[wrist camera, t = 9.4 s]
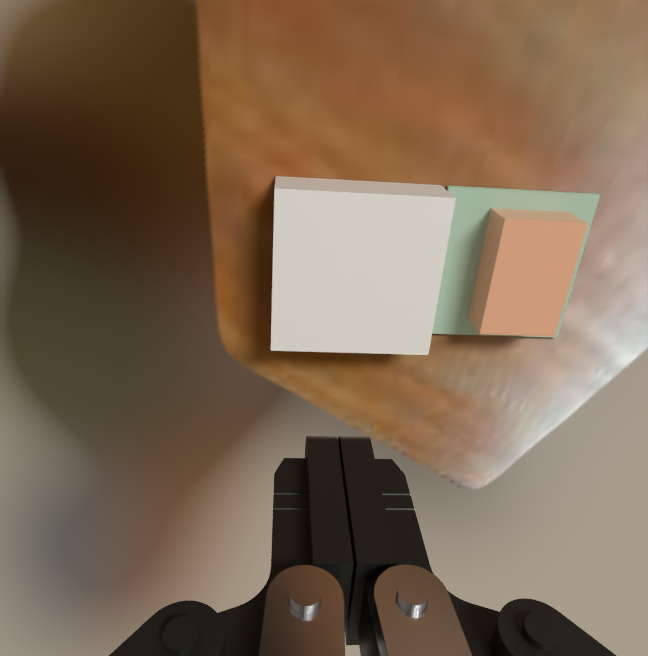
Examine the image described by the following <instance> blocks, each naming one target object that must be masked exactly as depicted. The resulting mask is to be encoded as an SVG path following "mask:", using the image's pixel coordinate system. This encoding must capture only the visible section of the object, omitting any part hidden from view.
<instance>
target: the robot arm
mask: <svg viewBox="0 0 648 656" xmlns="http://www.w3.org/2000/svg"><path fill="white" fill-rule="evenodd" d="M273 501H274V502H273V529H272V559H271V572H270V576H269V579H268V581H267V583H266V585H265V586H264V588H263V589H262V590H261V591H260V592H259V594H258V595H256V596H255V597H254V598H253V599H251V600H250V601H248V602H246V603H245V604H242V605H240V606H237V607H235V608H231V609H228V610H226V611H222V612H219V613H217V612H216V611H215V610H214V609H212V608H211V607H210V606H208V605H206V604H204V603H201V602H197V601H181V602H177V603H173V604H170V605H168V606H166V607H164V608H162V609H161V610H159V611H158V612H157V613H155V614H154V615H153V616H152V617H151V618H149V619H148V620H147V621H146V622H145V623H144V624H143V625H142V626H141V627H140V628H139V629H138V630H137V631H135V632H134V633H133V634H132V635H131V636H130V637H129V638H128V639H127V640H126V641H125V642H123V643H122V644H121V645H120V646H119V647H118V648H117V649H116V650H115V651H114V652H112V653H111V654H110V655H109V656H345V637H346V645H360V653H361V656H616V655H615V654H613V653H612V652H611V651H609V650H608V649H607V648H606V647H604V646H603V645H602V644H600V643H599V642H598V641H596V640H595V639H594V638H592V637H591V636H590V635H588V634H587V633H586V632H585V631H583V630H582V629H581V628H579V627H578V626H577V625H575V624H574V623H573V622H572V621H570V620H569V619H567V618H566V617H565V616H564V615H562V614H561V613H560V612H558V611H557V610H555V609H554V608H552V607H551V606H549V605H547V604H545V603H542V602H540V601H536V600H532V599H517V600H513V601H511V602H509V603H507V604H506V605H505V606H504V607H503V608H502V610H501V611H500V612H498V611H494V610H491V609H488V608H485V607H481V606H478V605H474V604H471V603H468V602H466V601H463V600H461V599H459V598H457V597H456V596H454V595H453V594H451V593H450V592H448V591H447V589H446V588H445V586H444V585H443V583H442V582H441V581H440V580H439V579H438V578H437V577H436V576H435V575H434V574H433V572H432V570H431V567H430V564H429V560H428V557H427V553H426V550H425V546H424V542H423V539H422V535H421V531H420V528H419V524H418V521H417V517H416V513H415V511H414V506H413V503H412V499H411V496H410V492H409V489H408V485H407V481H406V477H405V475H404V473H403V472H402V471H401V470H400V468H399V467H398V466H397V465H396V464H395V463H394V461H393V460H392V459H375V458H374V454H373V449H372V444H371V440H370V438H369V437H338V439H337V437H325V436H322V437H321V436H307V437H306V445H305V458H284V459H283V461H282V462H281V464H280V465H279V467H278V469H277V470H276V472H275V474H274V500H273ZM344 633H345V634H344Z"/></svg>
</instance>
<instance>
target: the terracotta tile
mask: <svg viewBox="0 0 648 656" xmlns="http://www.w3.org/2000/svg"><path fill="white" fill-rule="evenodd" d="M587 225H588V223H587V222H585V221H584V220H582V219H580V218H578V217H576V216H575V215H573V214H571V213H569V212H561V211H541V210H521V209H501V208H490V213H489V217H488V222H487V227H486V232H485V237H484V242H483V246H482V251H481V256H480V261H479V266H478V271H477V276H476V280H475V285H474V290H473V295H472V300H471V305H470V310H469V314H468V318H469V319H470V321H471V322H472V324H473V325H474V327H475V328H476V330H477V331H478V333H479V334H489V335H523V336H555V334H556V331H557V327H558V324H559V320H560V317H561V313H562V310H563V307H564V303H565V300H566V296H567V293H568V290H569V286H570V283H571V279H572V276H573V272H574V269H575V266H576V262H577V259H578V255H579V252H580V249H581V245H582V242H583V238H584V235H585V231H586V228H587Z"/></svg>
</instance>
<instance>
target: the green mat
mask: <svg viewBox="0 0 648 656" xmlns="http://www.w3.org/2000/svg"><path fill="white" fill-rule="evenodd" d="M447 191H448V192H449V193H451V194H452V195H453V196H454V197H455V198H456V201H455V206H454V212H453V218H452V223H451V229H450V235H449V240H448V246H447V252H446V257H445V263H444V268H443V274H442V280H441V285H440V291H439V297H438V302H437V308H436V314H435V319H434V325H433V331H432V334H458V335H489V334H479V333H478V331H477V330H476V328H475V327H474V325H473V324H472V322H471V321H470V319H469V318H468V314H469V310H470V305H471V300H472V295H473V290H474V285H475V280H476V276H477V271H478V266H479V261H480V256H481V251H482V246H483V242H484V237H485V232H486V227H487V222H488V217H489V213H490V208H501V209H521V210H541V211H561V212H569V213H571V214H573V215H575V216H576V217H578V218H580V219H582V220H584V221H585V222H587V223H588V225H587V228H586V231H585V235H584V238H583V242H582V245H581V249H580V252H579V255H578V259H577V262H576V266H575V269H574V272H573V276H572V279H571V283H570V286H569V290H568V293H567V296H566V300H565V303H564V307H563V310H562V313H561V317H560V320H559V324H558V327H557V331H556V334H555V336H523V335H490V336H522V337H554V338H558V335H559V331H560V328H561V325H562V321H563V318H564V315H565V311H566V308H567V304H568V301H569V298H570V294H571V291H572V288H573V284H574V281H575V278H576V274H577V271H578V267H579V264H580V261H581V257H582V254H583V251H584V247H585V244H586V241H587V237H588V234H589V231H590V227H591V224H592V220H593V217H594V214H595V210H596V207H597V204H598V200H599V197H600V195H599V194H594V193H575V192H557V191H539V190H521V189H502V188H484V187H466V186H447Z"/></svg>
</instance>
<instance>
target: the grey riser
mask: <svg viewBox="0 0 648 656" xmlns="http://www.w3.org/2000/svg"><path fill="white" fill-rule="evenodd" d="M455 201H456V198H455V197H454V196H453V195H452V194H451V193H449V192H448V191H447V190H446V189H445V188H443V187H442V186H441V185H429V184H411V183H393V182H374V181H356V180H338V179H320V178H301V177H283V176H276V179H275V188H274V230H273V273H272V316H271V351H303V352H339V353H374V354H410V355H428V353H429V348H430V342H431V336H432V331H433V325H434V319H435V314H436V308H437V302H438V297H439V291H440V285H441V280H442V274H443V268H444V263H445V257H446V252H447V246H448V240H449V235H450V229H451V223H452V218H453V212H454V206H455Z"/></svg>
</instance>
